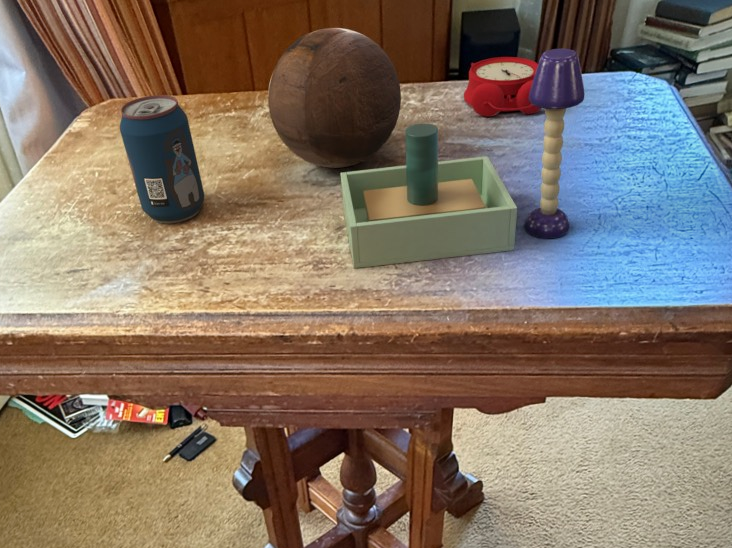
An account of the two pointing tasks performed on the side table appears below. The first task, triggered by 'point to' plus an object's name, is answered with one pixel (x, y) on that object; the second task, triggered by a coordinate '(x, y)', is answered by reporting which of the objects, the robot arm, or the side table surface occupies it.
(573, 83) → the toy lamp
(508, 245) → the tub
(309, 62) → the wooden sphere
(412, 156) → the brush
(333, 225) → the side table surface
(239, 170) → the side table surface
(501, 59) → the alarm clock
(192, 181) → the soda can
